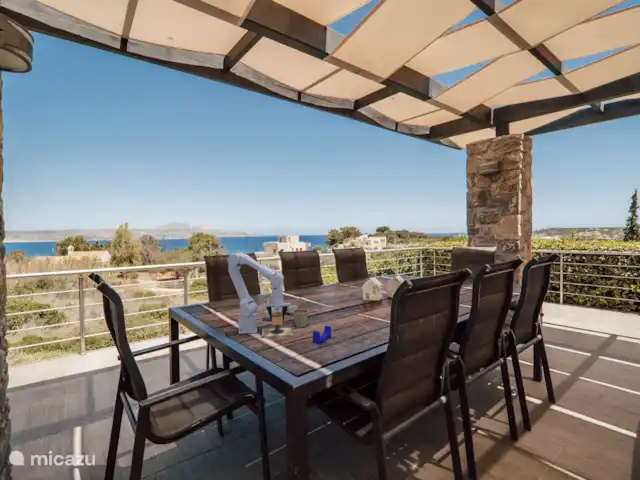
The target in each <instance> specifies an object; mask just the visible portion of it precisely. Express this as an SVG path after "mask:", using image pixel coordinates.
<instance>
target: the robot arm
mask: <svg viewBox="0 0 640 480" xmlns="http://www.w3.org/2000/svg"><path fill="white" fill-rule="evenodd" d="M227 264H228V265H227V266H228V267H227V268H228V269H227V271H228V273H229V276H230V279H231V281H232V283H233V285H234V288H235V291H236V293H237V295H238V298H239V300H240V302H239V308H240V313H241V314H240V315H239V316H238V327H237V328H238V335H239V334H240V335H241V334H243V335H244V334H257V333H258V327H257V311H258V309H259V305H258V304H257V302H256V301H255V299H254V298H253V297H251V296H250V294H249V291H248V289H247V286H246V284H245V280H244V278H243V277H242V276H243V275H242V274H241V271H240V269H241V267H242V266H243V265H247V266H249V267H251V268H253V269H255V270H257V271H258V272H259V275H261V276H262V277H263V278H265V279H267V280H269V282H270V284H271V294H272V303H267V302H266V303H263V309H266V308H267V311H268V313H269V315H270V319H271V320H270V322H272V308H273V307H282V308H283V312H282V316H283V322H284V321H285V315H286V313H287V307H291V305H292V303H291V302H283V303H282V301H283V297H282V295H283V282H284V280H285V277H284V274H282V273H281V272H277V270H274V269H272V268H271V267H270V266H269V265H266V264H265V265H262V264H260V262H257V260H255V259H254V258H252V257H251V256H249V255H248V254H246V253H245V252H243V251H240V252H234V253H233V252H232V253H231V254H229V256H228V257H227Z"/></svg>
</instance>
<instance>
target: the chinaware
mask: <svg viewBox="0 0 640 480" xmlns="http://www.w3.org/2000/svg"><path fill="white" fill-rule="evenodd" d="M266 298H267V301H266V304H267V303H272V293H271V294H269V295H266ZM284 301H285V297H284V295H283V294H282V303H284ZM298 308H299V306H298V305H296V304H293V305H292V304H291V307H287V311H286V313H288V314H289V315H290V316H292V315H293V316H294V313H293V311H294V310H298ZM281 314H283V307H273V308H272V315H281ZM263 315H264V316H265V317H263ZM261 318H262V319H265V320H267V321H271V319H270V315H269V313H268V311H267V308H265V310H264V311H263V313H262V314H261Z"/></svg>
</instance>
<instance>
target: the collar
mask: <svg viewBox="0 0 640 480" xmlns="http://www.w3.org/2000/svg"><path fill="white" fill-rule="evenodd" d="M282 315H283V313H281V315H272V321H271V325H272V326H275V325H280V326H283V323H284V321H283V316H282Z"/></svg>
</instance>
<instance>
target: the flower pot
mask: <svg viewBox="0 0 640 480" xmlns="http://www.w3.org/2000/svg"><path fill="white" fill-rule="evenodd" d="M309 313H310V311H309V310H308V309H305V308H303V309H302V308H299V309H298V308H297V310H294V311H293V314H294V315H293V316H294V323H295V326H296V327H297V328H304V327H307V323H308V315H309Z"/></svg>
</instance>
